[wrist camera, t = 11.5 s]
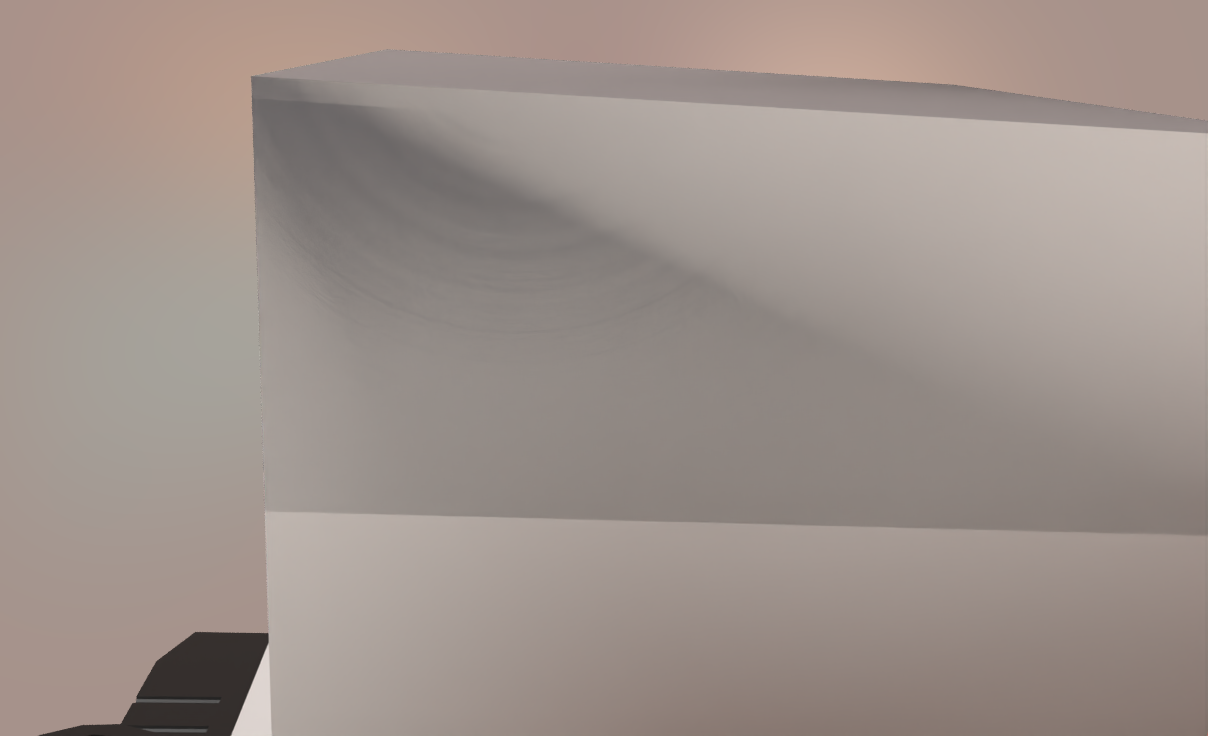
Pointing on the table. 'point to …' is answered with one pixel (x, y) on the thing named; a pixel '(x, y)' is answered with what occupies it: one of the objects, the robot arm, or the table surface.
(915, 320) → the plug
